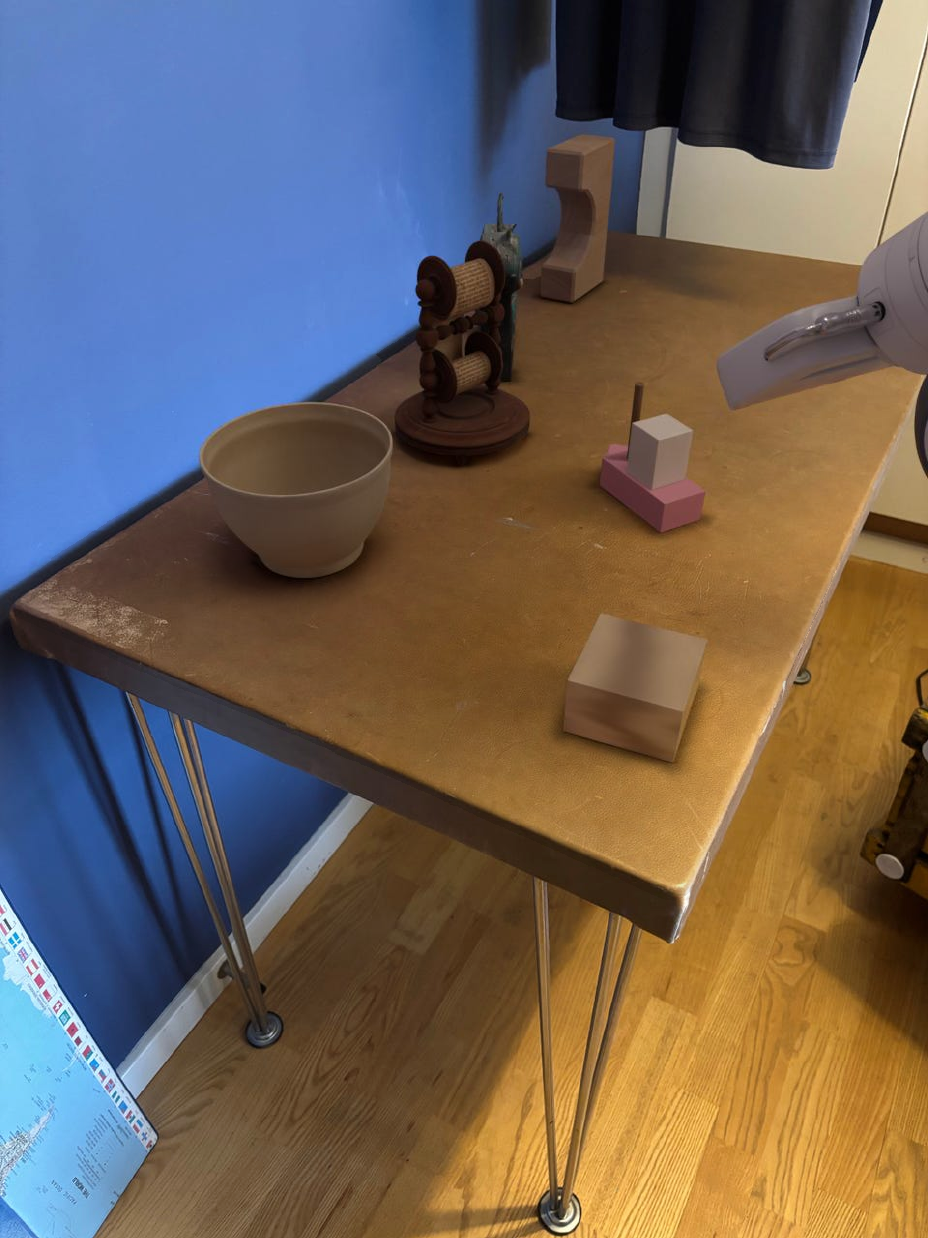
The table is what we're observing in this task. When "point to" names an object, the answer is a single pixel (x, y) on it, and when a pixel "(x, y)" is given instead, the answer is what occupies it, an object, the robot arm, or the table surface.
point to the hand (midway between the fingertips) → (783, 385)
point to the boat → (654, 470)
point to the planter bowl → (300, 483)
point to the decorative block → (578, 215)
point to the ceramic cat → (506, 284)
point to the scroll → (461, 361)
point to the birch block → (634, 686)
